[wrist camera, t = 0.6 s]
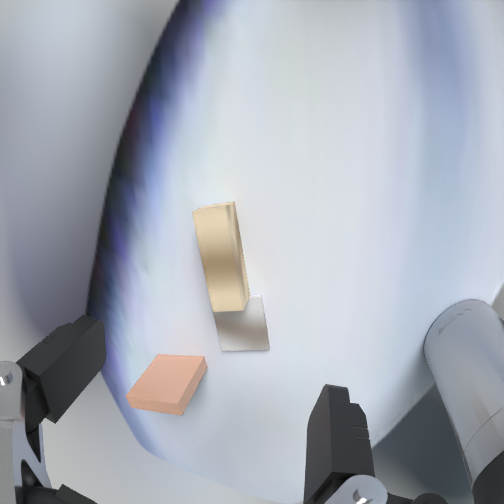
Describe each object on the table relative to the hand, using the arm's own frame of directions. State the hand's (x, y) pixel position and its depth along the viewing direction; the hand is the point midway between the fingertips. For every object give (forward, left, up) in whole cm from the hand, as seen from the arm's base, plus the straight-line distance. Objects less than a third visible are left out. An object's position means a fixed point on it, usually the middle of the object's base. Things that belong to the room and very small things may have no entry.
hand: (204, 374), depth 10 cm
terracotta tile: (-5, +18, -19) cm, 26 cm away
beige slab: (-1, +6, -19) cm, 20 cm away
